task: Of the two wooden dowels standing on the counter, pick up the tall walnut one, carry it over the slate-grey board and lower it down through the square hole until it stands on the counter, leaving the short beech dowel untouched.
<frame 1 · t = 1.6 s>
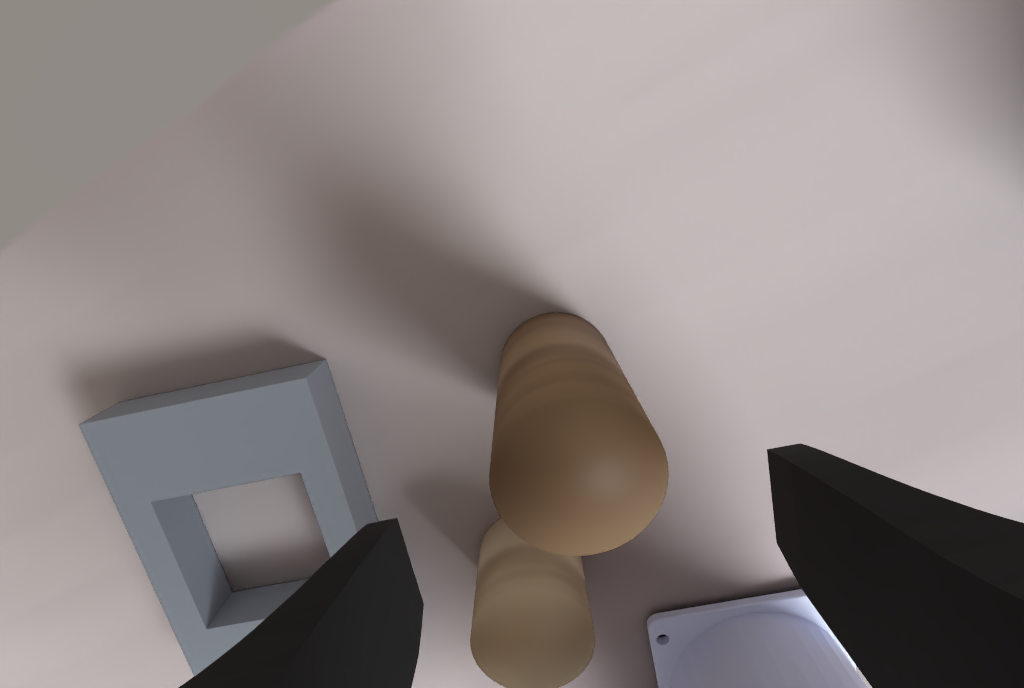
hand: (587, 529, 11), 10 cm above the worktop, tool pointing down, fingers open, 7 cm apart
board: (274, 522, 22), on the worktop
short dowel: (530, 554, 23), on the worktop
long dowel: (555, 367, 20), on the worktop
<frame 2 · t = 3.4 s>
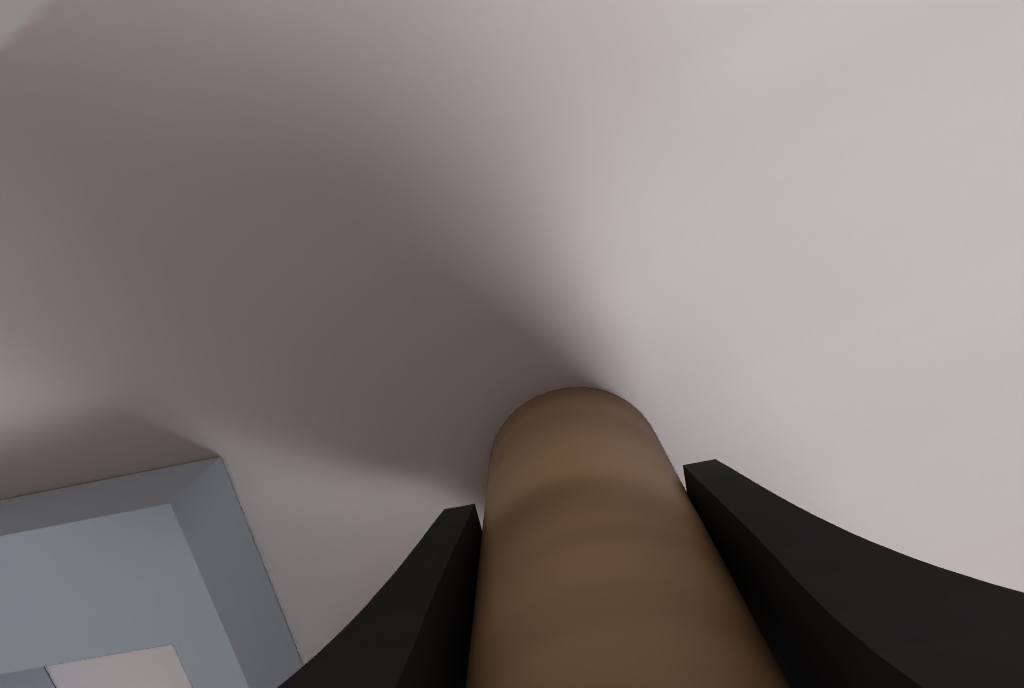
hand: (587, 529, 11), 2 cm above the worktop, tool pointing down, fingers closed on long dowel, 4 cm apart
board: (157, 685, 15), on the worktop
long dowel: (575, 468, 13), on the worktop, touching gripper
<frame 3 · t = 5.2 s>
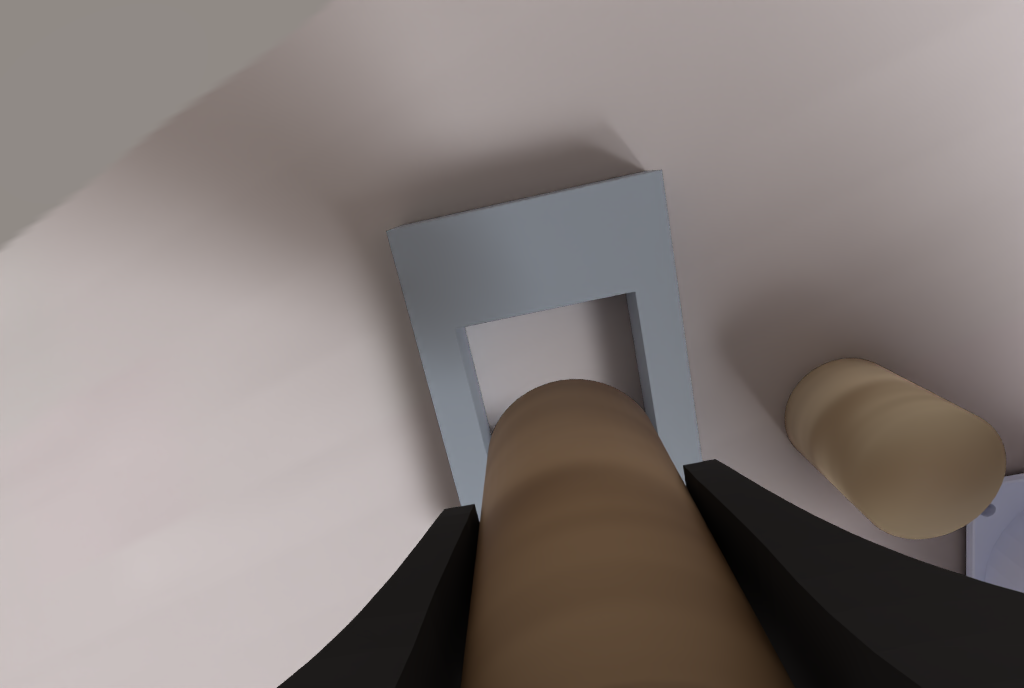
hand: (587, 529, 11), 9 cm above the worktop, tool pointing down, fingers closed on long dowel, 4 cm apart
board: (557, 373, 20), on the worktop
short dowel: (842, 412, 20), on the worktop
long dowel: (573, 460, 13), point 7 cm above the worktop, touching gripper
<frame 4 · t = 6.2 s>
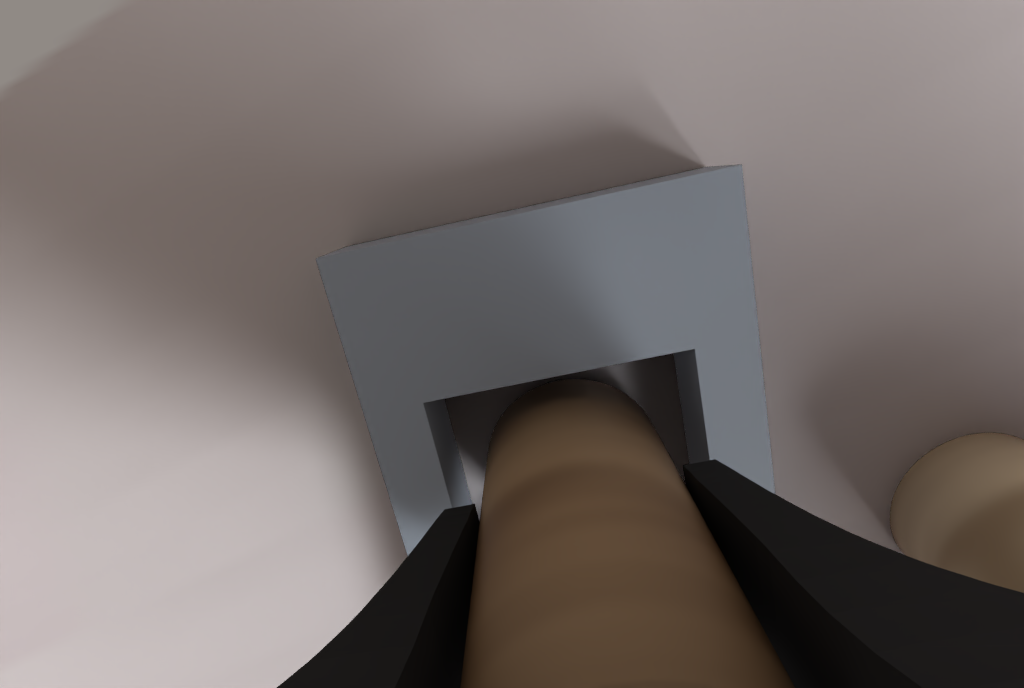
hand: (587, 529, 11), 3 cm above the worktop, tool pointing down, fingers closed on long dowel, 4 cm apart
board: (573, 453, 14), on the worktop
short dowel: (971, 505, 14), on the worktop
long dowel: (573, 459, 13), point 1 cm above the worktop, touching gripper
when the fingers open (3 cm above the worktop, at t = 7.1 s): long dowel stays where it is, resting in board.
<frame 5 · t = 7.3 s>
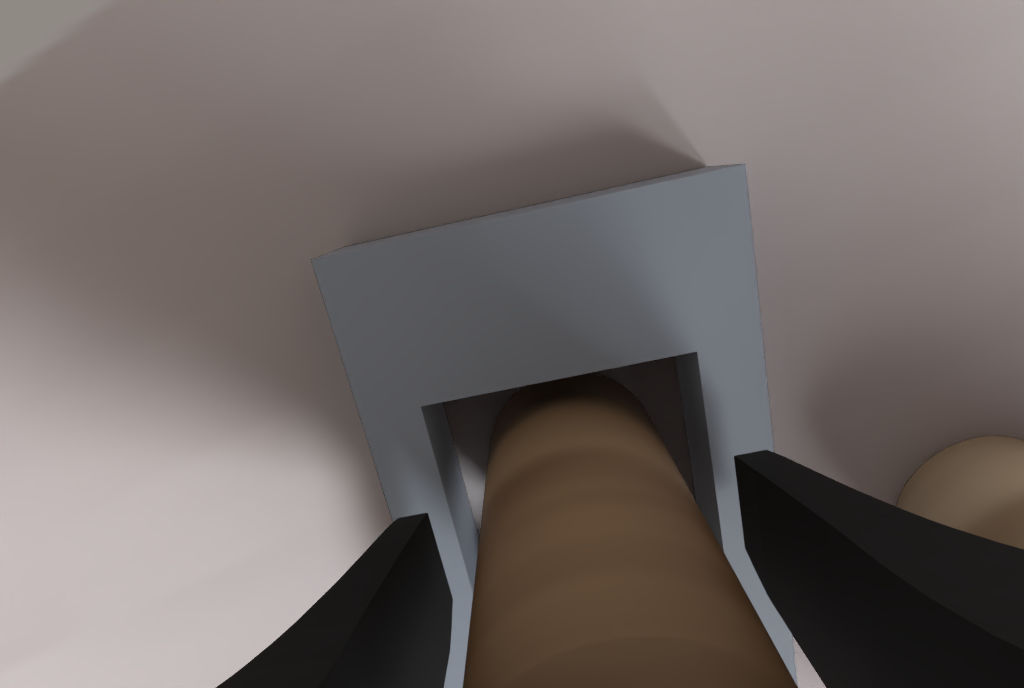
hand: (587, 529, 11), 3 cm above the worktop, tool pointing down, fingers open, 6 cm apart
board: (573, 456, 14), on the worktop
short dowel: (976, 509, 14), on the worktop
long dowel: (572, 449, 14), resting in board
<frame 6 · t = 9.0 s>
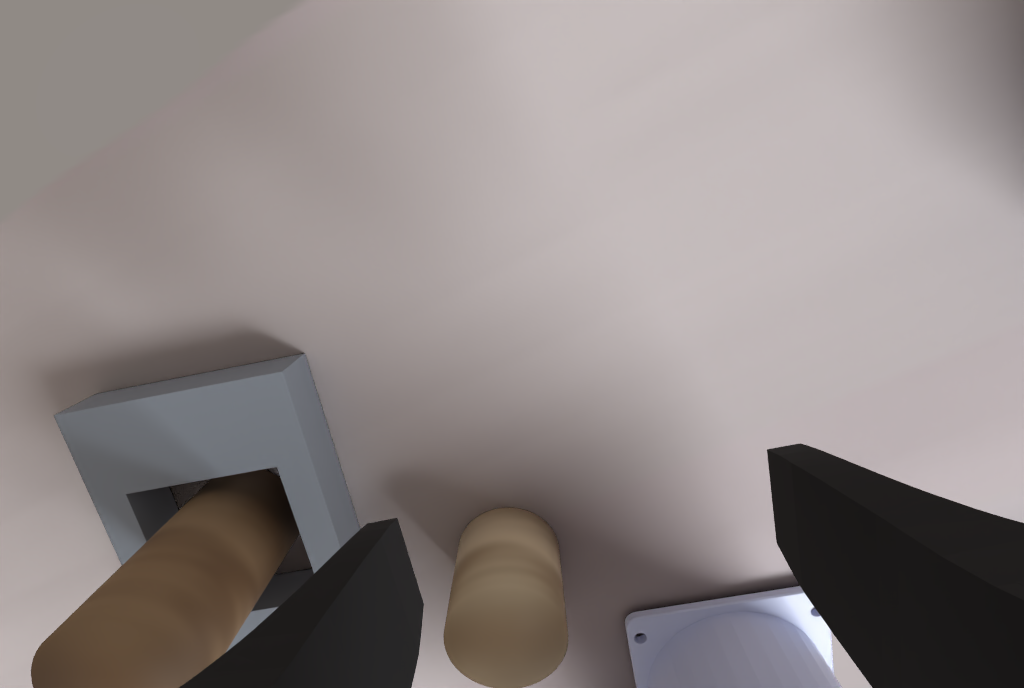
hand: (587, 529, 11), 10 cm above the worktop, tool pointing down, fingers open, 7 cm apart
board: (252, 516, 22), on the worktop
short dowel: (508, 551, 23), on the worktop
long dowel: (251, 512, 22), resting in board
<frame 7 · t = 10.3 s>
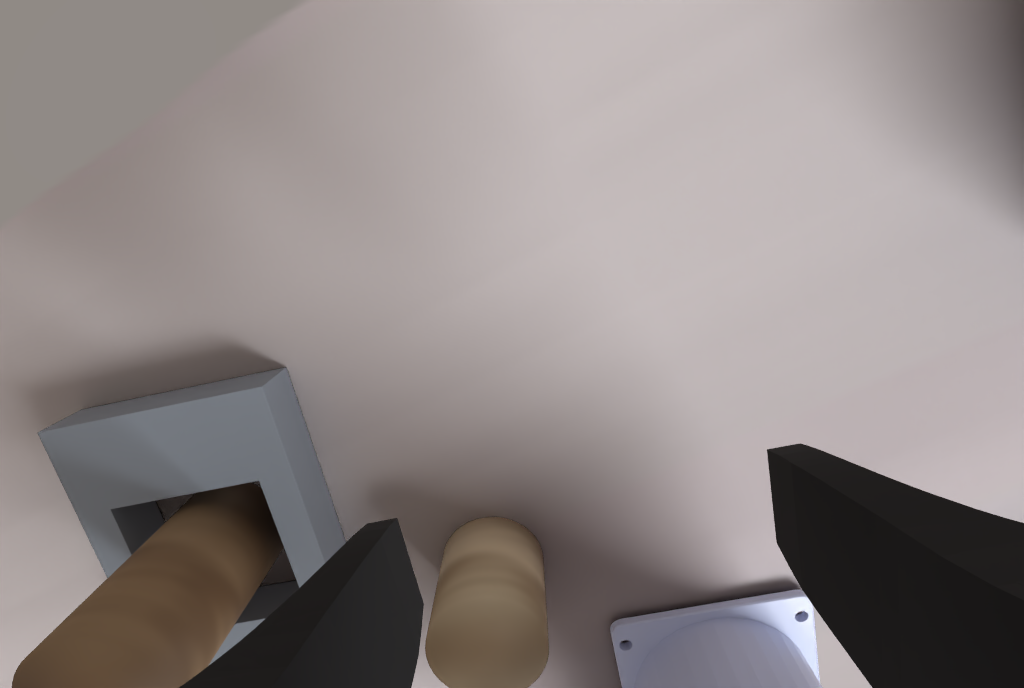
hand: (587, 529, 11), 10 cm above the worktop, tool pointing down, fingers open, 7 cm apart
board: (238, 528, 22), on the worktop
short dowel: (493, 560, 23), on the worktop
long dowel: (237, 524, 22), resting in board
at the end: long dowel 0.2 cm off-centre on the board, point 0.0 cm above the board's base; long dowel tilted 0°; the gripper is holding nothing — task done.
